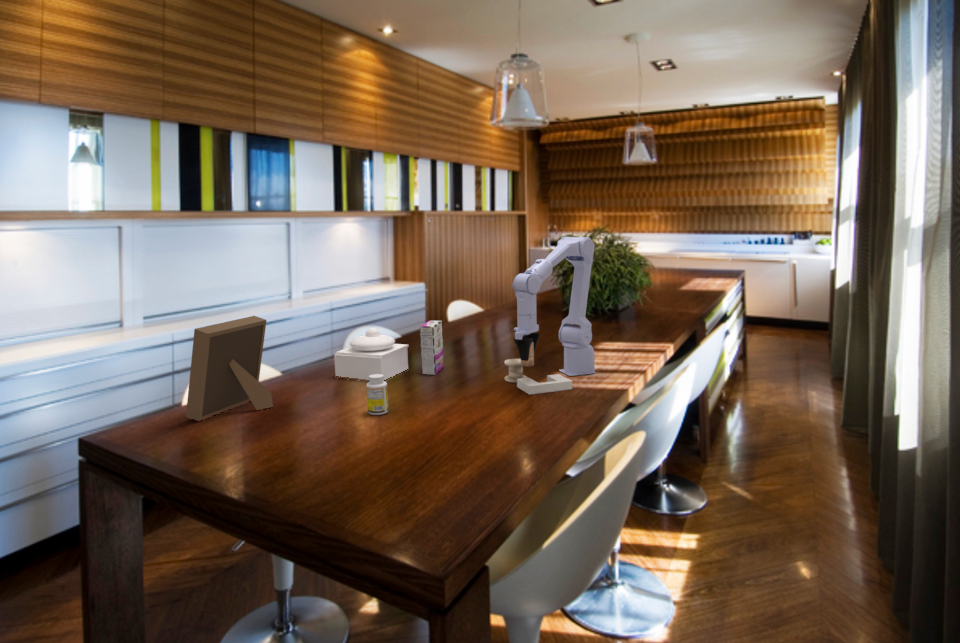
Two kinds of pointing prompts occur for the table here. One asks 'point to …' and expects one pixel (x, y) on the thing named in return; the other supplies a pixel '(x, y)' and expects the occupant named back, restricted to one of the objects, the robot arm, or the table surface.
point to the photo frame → (227, 367)
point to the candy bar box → (431, 347)
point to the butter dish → (371, 357)
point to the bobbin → (514, 370)
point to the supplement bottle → (377, 395)
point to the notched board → (544, 384)
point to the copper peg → (531, 357)
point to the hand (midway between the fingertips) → (527, 358)
